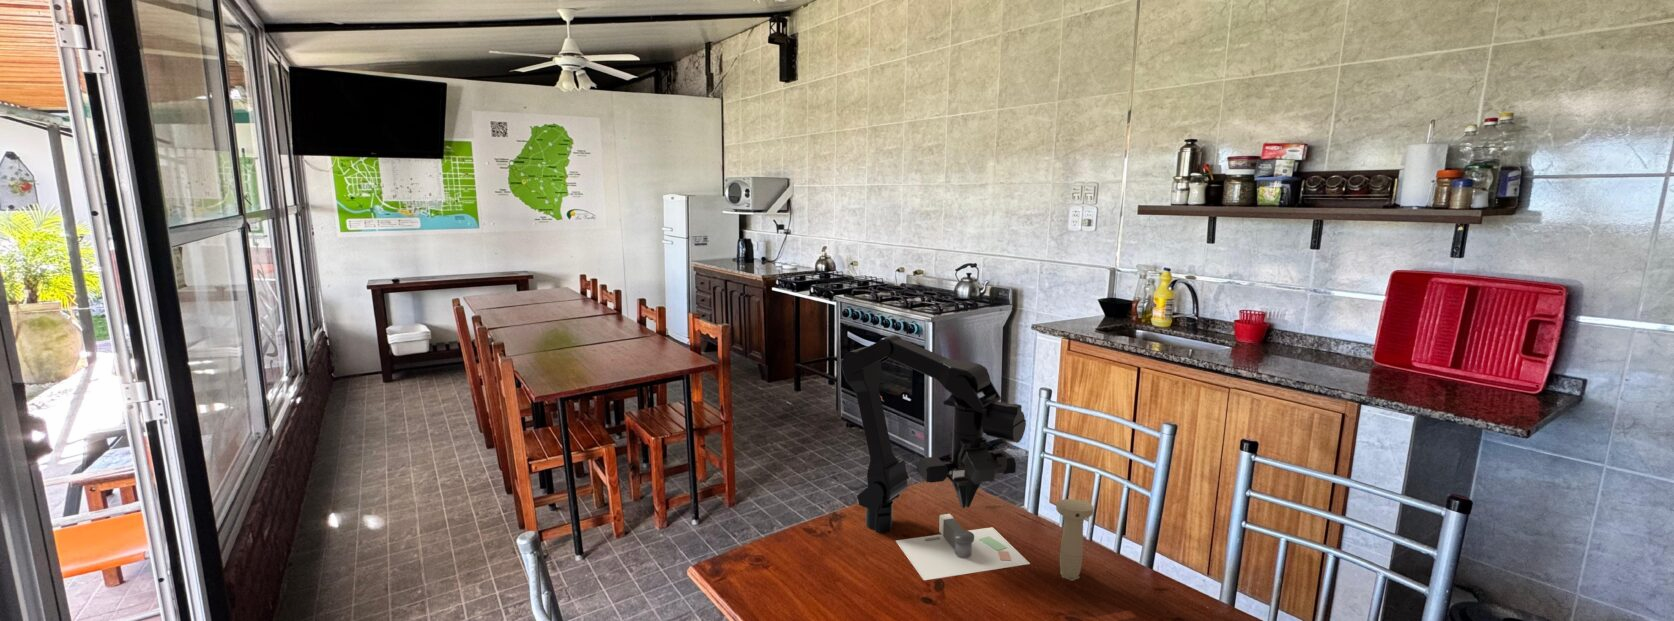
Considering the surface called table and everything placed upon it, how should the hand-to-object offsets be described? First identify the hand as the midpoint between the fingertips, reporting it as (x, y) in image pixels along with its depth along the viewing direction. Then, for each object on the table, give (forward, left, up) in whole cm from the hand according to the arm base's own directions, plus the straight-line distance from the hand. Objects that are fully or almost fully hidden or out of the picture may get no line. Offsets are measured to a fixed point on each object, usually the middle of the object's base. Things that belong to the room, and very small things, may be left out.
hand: (965, 506), depth 134 cm
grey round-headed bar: (-4, 0, -10) cm, 10 cm away
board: (-1, 0, -11) cm, 11 cm away
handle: (+12, +16, -11) cm, 23 cm away
